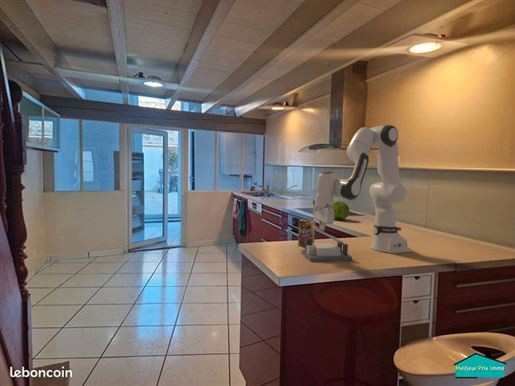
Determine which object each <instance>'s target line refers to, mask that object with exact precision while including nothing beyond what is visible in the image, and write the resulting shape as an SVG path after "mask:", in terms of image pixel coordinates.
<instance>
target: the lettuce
mask: <svg viewBox="0 0 515 386" xmlns="http://www.w3.org/2000/svg"><path fill="white" fill-rule="evenodd" d="M332 208H333V210H334V220H335V219H337V220H336V221H341V220H342V221H343V220H345V219H347V218H348V216H349V214H350V207H349V204H348V203H346V202H345V201H340V200H337V201H333V207H332Z"/></svg>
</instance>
